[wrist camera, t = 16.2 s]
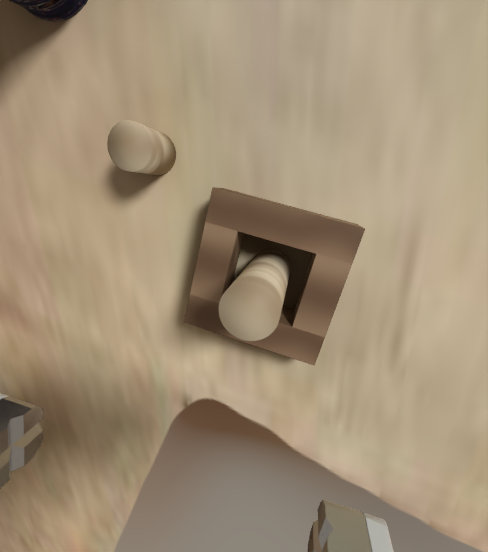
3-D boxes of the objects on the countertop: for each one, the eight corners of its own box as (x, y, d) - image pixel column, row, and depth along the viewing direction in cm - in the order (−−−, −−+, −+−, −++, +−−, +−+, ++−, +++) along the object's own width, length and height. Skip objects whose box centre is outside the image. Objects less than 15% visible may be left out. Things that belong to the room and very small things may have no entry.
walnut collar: (313, 345, 32) (314, 365, 28) (197, 307, 34) (183, 322, 30) (357, 224, 28) (365, 228, 24) (224, 188, 30) (212, 187, 26)
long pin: (276, 295, 32) (259, 352, 20) (243, 275, 32) (208, 319, 20) (298, 263, 30) (292, 304, 19) (263, 242, 30) (237, 270, 19)
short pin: (171, 179, 31) (147, 176, 26) (135, 169, 31) (104, 165, 26) (179, 137, 30) (154, 126, 25) (141, 127, 30) (110, 115, 25)
